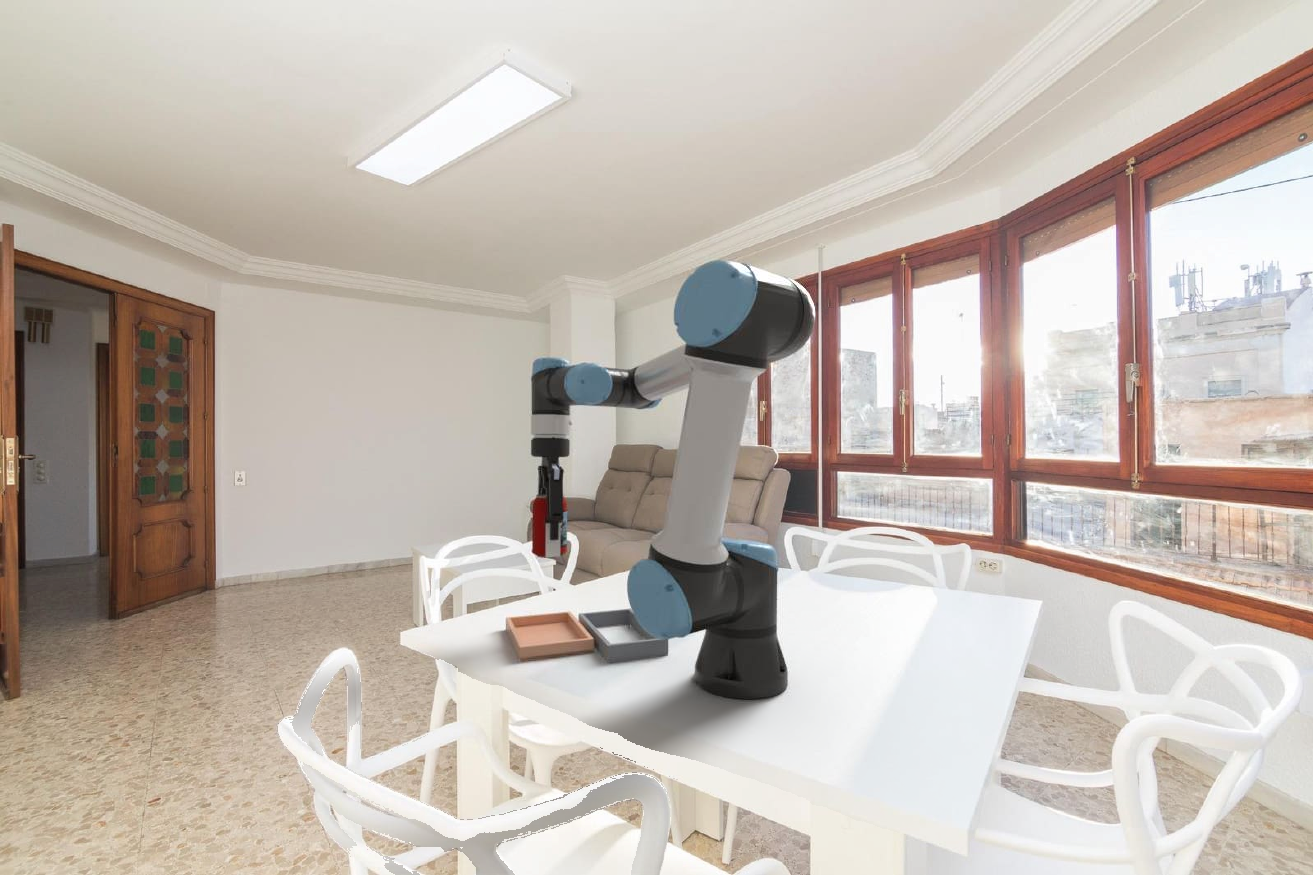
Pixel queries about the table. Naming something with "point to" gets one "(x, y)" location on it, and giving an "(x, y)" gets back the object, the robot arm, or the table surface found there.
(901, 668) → the table surface
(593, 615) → the grey bin
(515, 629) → the terracotta dish
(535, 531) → the beverage can
